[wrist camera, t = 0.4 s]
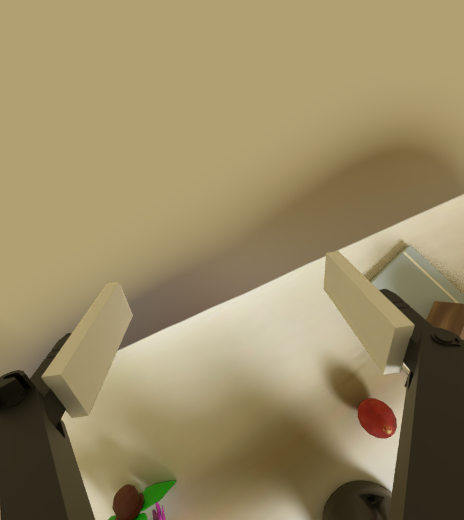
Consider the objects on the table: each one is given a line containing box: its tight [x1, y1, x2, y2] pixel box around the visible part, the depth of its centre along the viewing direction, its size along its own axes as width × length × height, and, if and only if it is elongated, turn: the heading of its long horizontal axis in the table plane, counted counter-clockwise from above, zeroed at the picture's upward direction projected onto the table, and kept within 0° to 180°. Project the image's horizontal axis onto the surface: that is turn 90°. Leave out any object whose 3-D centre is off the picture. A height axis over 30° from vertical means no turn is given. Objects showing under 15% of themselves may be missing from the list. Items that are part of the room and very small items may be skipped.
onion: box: [358, 398, 397, 438], centre depth 43 cm, size 6×6×8 cm
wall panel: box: [370, 245, 464, 375], centre depth 46 cm, size 24×18×3 cm
